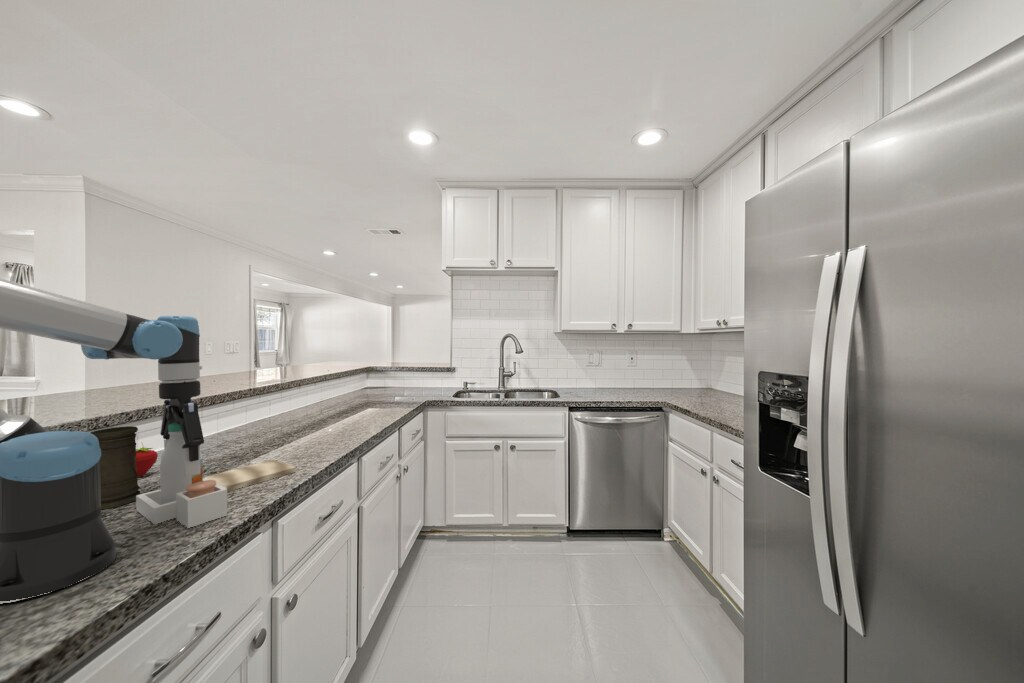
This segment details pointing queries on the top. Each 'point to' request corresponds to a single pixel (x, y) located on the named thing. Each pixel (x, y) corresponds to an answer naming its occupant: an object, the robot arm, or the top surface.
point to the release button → (201, 488)
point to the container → (117, 466)
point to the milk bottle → (175, 467)
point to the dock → (184, 506)
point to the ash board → (251, 474)
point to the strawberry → (145, 460)
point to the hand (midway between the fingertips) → (182, 469)
